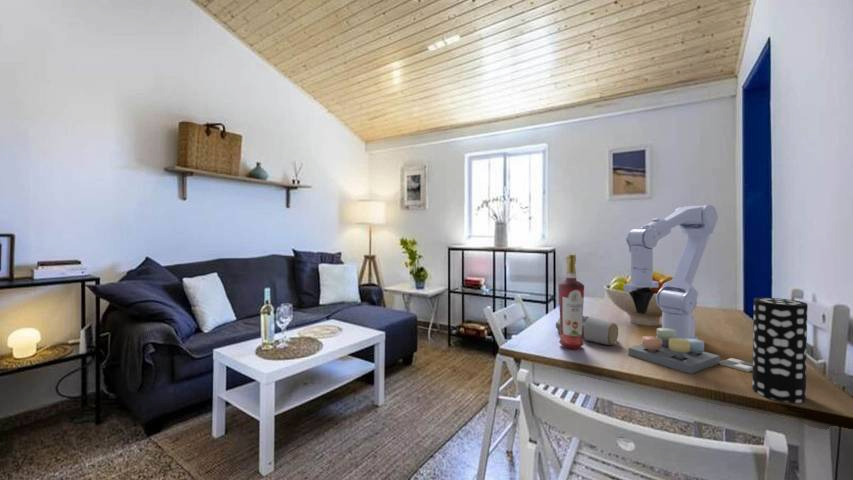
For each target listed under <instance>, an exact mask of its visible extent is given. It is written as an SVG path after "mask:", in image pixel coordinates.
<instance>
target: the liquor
mask: <svg viewBox="0 0 853 480" xmlns="http://www.w3.org/2000/svg"><path fill="white" fill-rule="evenodd" d="M565 257H566V258H565V260H566V274H565V280H562V281H561V282H559V283H558V284H557V285H558V287H557V288H558V290H557V291H558V304H559V305H558V306H559V307H558V308H559V318H560V330H561V334H560V339H559V341H558V343H559V344H560V345H561V346H562V347H563V348H565V349H567V350H579V349H580V348H581V347H582V346H584V343H583V338H582V320H583V316H584V303H585V302H584V300H585V299H584V298H585V284H583V283H582V282H580V281H578V280H577V273H576V272H577V271H576V262H577V259H576V258H577V255H576V254H566V255H565Z"/></svg>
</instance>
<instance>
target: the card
mask: <svg viewBox="0 0 853 480" xmlns="http://www.w3.org/2000/svg"><path fill="white" fill-rule="evenodd" d="M719 365H720V366H723V367H728V368H731V369H734V370H739V371H742V372H745V373H746V372H747V373H750V372H753V362H749V361H744V360H741V359H736V358H733V357H729V358H727V359H725V360H722V361H719Z"/></svg>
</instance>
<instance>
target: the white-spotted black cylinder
mask: <svg viewBox="0 0 853 480" xmlns="http://www.w3.org/2000/svg"><path fill="white" fill-rule="evenodd" d="M808 306H809V305H808V303H807V302H804V301H800V300H794V299H787V298H779V297H778V298H777V297H776V298H775V297H754V298H753V320H752V321H753V325H752V330H753V331H752V332H753V333H752V334H753V335H752V363H753V370H752V382H751V383H752V385H751V386H752V391H753V392H755V393H756V394H758V395H760V396H763V397H765V398H768V399H770V400H775V401H779V402H785V403H792V404H793V403H795V404H799V403H805V402H806V400H807V397H806V395H807V393H806V392H807V391H806V390H807V356H808V355H807V351H808V350H807V347H808V344H807V343H808Z"/></svg>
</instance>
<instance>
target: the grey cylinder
mask: <svg viewBox="0 0 853 480" xmlns="http://www.w3.org/2000/svg"><path fill="white" fill-rule="evenodd" d="M584 337H585V338H584V339H585V341H588V342H591V343H597V344H600V345H607V346H613V345H615V344H616V342H617V341H618V337H619V327H618V325H617V324H616V323H615V322H612V321H610V320H606V319H602V318H599V317H594V316H590V317H589V318H588V319H587V320H586V322H585V326H584Z"/></svg>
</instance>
